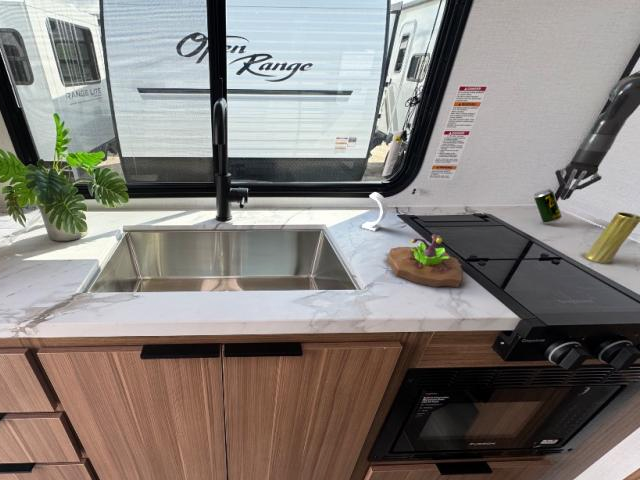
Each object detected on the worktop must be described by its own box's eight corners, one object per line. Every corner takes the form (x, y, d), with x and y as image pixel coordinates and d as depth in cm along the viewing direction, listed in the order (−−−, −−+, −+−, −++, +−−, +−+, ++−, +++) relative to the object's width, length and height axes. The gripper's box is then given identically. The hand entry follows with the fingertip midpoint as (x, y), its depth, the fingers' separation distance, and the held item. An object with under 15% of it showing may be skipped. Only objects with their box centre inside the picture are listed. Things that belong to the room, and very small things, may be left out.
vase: (603, 265, 98) (638, 220, 90) (579, 256, 103) (610, 213, 94) (614, 261, 100) (649, 217, 92) (590, 253, 105) (621, 210, 96)
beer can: (540, 225, 125) (529, 196, 124) (549, 219, 126) (539, 191, 125) (556, 222, 120) (546, 192, 118) (565, 216, 121) (555, 186, 120)
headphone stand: (366, 223, 122) (374, 191, 115) (382, 228, 119) (391, 195, 112) (361, 227, 119) (369, 194, 112) (377, 231, 116) (386, 198, 109)
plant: (390, 280, 89) (403, 243, 82) (384, 250, 104) (394, 216, 98) (471, 292, 85) (491, 254, 78) (452, 258, 100) (467, 224, 94)
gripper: (621, 150, 107) (587, 201, 117) (569, 144, 115) (542, 193, 125) (620, 153, 103) (585, 206, 113) (567, 146, 110) (539, 197, 120)
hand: (562, 199), depth 119 cm, fingers closed
